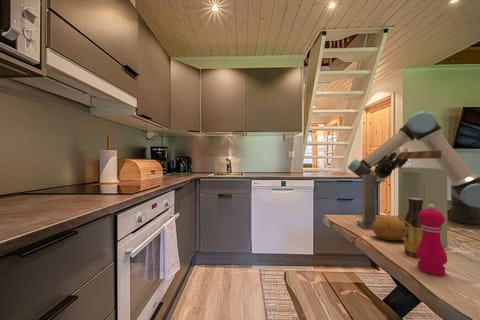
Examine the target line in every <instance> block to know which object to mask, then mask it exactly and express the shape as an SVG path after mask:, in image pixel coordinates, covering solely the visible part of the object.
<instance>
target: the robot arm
mask: <svg viewBox="0 0 480 320" xmlns="http://www.w3.org/2000/svg"><path fill="white" fill-rule="evenodd" d="M442 131H443V128H442V127H441V125H440V124H439V123H438V119H437V117H436V115H435V114H434V113H432V112H431V111H425V110H421V111H420V110H419V111H418V112H415V113H413V114H412V115H411V116H410V117H409V118H408V120H407V122H406V123H404V125H403V126H401V128H399V129H398V132H397V133H396V134H394V135H393V136H392V137H391V138H389V139H388V140H386V141H385V142H384V143H382V144H381V145H380V146H378V147H376V149H375V150H373V151H372V152H371V153H369V154H368V155H366V156H365V157H364V158H363V159H361V160H357V159H356V158H355V159H353V160H352V161H351V162H350V163H349V165H348V166H347V169H348V170H350V171H351V173H354V174H355V175H356V176H357V177H359V178H361V175H377V179H376V187H378V186H380V185H381V183H383V182H384V180H386V179H387V178H388V177H389V176H391V175H392V173H393V171H394V170H396V169H398V167H404V165H405V164H406V163H407V162H408V161H409V159H396V158H397V157H398V156H399V155H400V154H401V153H402V152H412V151H411V149H410V147H406V148H405V149H404V150H402V146H405V144H407V143H408V142H412V141H413V140H417V142H422V143H423V144H424V146H425V148H426V149H427V151H441V158H434V160H435V161H436V163H437V164H438V165H439V166H440V168H444V169H447V178H449V180H450V206H449V209H448V210H447V221H450V222H453V223H458V224H463V225H471V226H472V225H473V226H480V176H479V175H478V174H474V173H473V172H471V170H470V169H469V168H468V166H467V165H466V163H464V161H463V160H462V159H461V157H460V156H459V155H458V153H457V152H456V151H455V150H454V148H453V147H452V145H450V143H449V142H448V141H447V139H446V138H445V137H444V135H443V134H442ZM391 153H392V154H391ZM373 167H374V169H372V168H373ZM361 180H362V181H363V179H361Z"/></svg>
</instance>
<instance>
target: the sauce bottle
mask: <svg viewBox="0 0 480 320" xmlns="http://www.w3.org/2000/svg"><path fill="white" fill-rule="evenodd" d="M408 202H409V210H408V213H407V215H406V217H405V219H404V238H403V241H404V242H403V243H404V244H403V247H404V248H403V249H404V252H405V254H407V255H408V256H412V257H415V258H418V257H417V256H416V250H417V247H418V245H419V243H420V242H421V240H422V235H423V231H422V229H421V224H422V222H421V221H420V220H419V213H420V212H421V211H422V204H423V199H421V198H408Z"/></svg>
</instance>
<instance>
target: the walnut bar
mask: <svg viewBox="0 0 480 320" xmlns="http://www.w3.org/2000/svg"><path fill="white" fill-rule="evenodd" d="M391 154H392V153H391ZM391 154H390V155H391ZM435 158H441V151H429V150H420V151H411V152H403V151H402V153H401V154H400V155H399V156H398V157H397V158H396V159H408V160H410V159H411V160H412V159H413V160H414V159H415V160H416V159H417V160H418V159H423V160H424V159H435Z"/></svg>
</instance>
